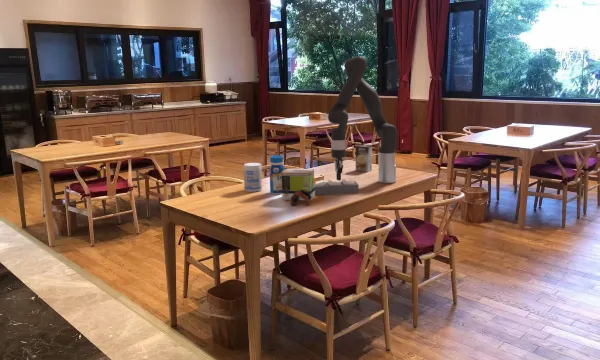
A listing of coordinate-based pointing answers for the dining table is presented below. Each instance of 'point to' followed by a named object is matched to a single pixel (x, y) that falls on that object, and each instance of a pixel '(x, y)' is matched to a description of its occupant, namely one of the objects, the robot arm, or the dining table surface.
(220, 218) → the dining table surface
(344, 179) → the plate
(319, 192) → the strip housing
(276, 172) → the beverage bottle
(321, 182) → the rocker
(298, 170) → the tea box
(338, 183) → the rocker
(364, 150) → the coffee box
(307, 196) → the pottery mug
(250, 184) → the supplement tub
